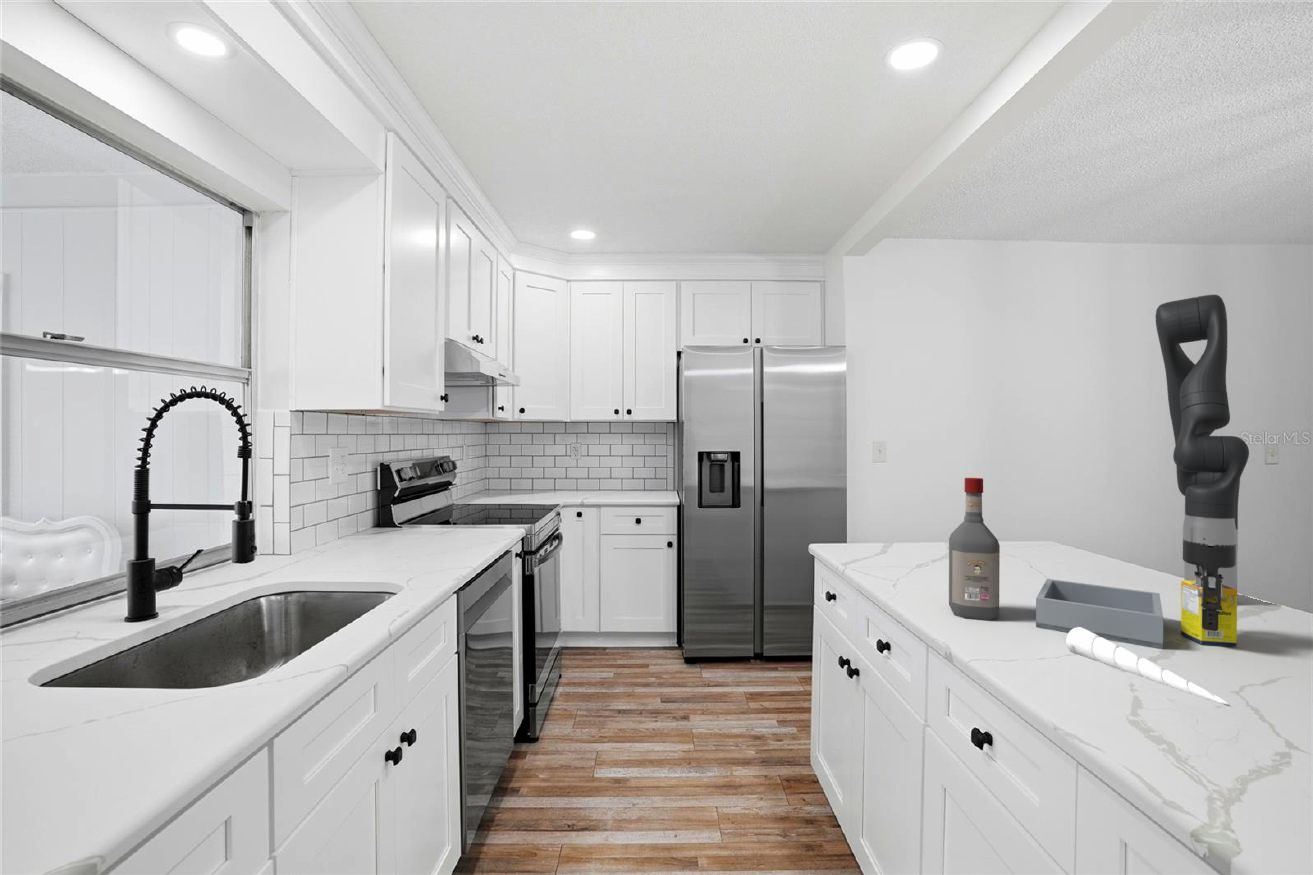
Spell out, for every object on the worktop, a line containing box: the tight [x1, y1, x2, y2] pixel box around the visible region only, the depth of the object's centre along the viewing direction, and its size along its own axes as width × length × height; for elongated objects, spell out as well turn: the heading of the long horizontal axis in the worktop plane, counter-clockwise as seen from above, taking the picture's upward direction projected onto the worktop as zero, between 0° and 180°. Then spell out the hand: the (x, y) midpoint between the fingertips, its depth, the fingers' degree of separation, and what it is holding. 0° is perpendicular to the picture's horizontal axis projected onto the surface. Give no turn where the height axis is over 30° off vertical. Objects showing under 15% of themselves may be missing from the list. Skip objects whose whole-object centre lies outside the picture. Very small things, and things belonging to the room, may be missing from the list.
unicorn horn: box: [1065, 627, 1230, 706], centre depth 99 cm, size 5×24×5 cm, turn 14°
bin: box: [1035, 578, 1164, 650], centre depth 125 cm, size 20×20×6 cm
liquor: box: [948, 477, 1001, 621], centre depth 132 cm, size 9×9×30 cm
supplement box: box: [1180, 579, 1238, 648], centre depth 115 cm, size 6×6×11 cm
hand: (1207, 624), depth 115 cm, fingers closed on supplement box, 8 cm apart
